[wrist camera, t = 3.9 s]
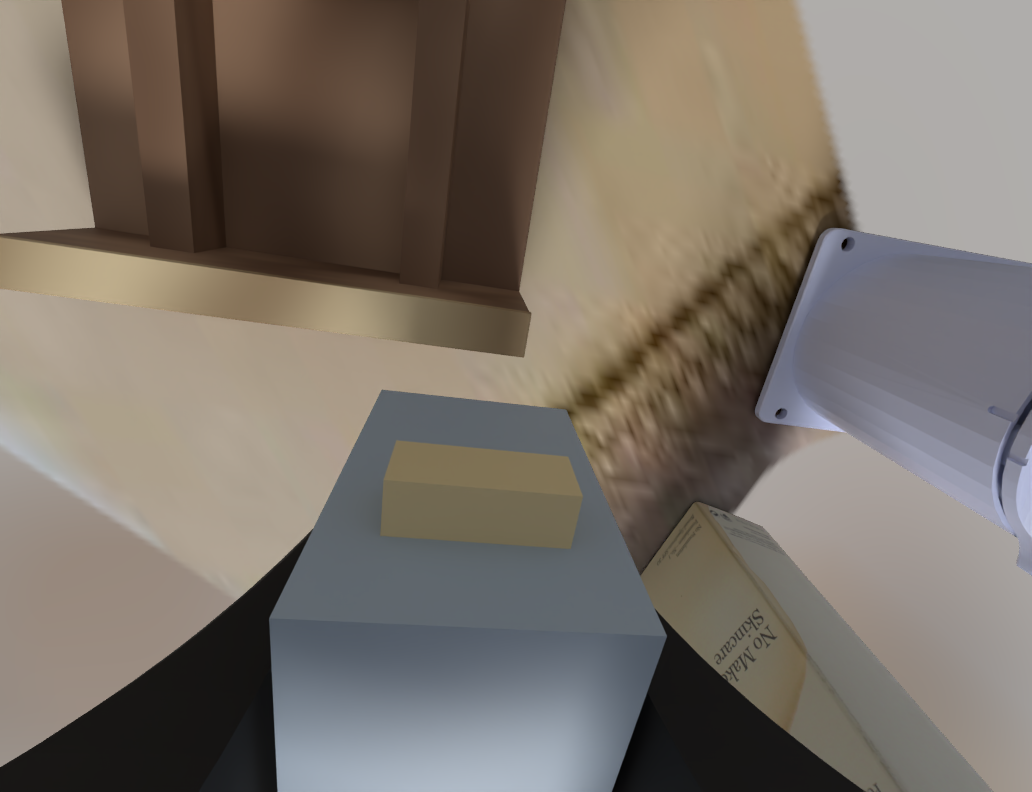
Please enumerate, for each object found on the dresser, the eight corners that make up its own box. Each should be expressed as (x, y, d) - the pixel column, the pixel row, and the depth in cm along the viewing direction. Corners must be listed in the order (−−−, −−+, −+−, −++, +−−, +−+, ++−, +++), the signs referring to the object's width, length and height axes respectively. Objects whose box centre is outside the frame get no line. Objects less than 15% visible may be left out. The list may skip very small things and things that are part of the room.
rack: (564, -10, 15) (604, -103, 10) (511, 319, 19) (523, 357, 14) (64, -128, 13) (-157, -307, 8) (117, 263, 17) (-16, 286, 12)
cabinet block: (572, 376, 10) (688, 577, 5) (523, 614, 13) (562, 930, 7) (383, 353, 10) (265, 550, 4) (370, 606, 12) (284, 941, 7)
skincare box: (692, 496, 22) (912, 791, 11) (766, 525, 23) (1035, 823, 12) (625, 593, 24) (755, 928, 13) (696, 616, 25) (873, 945, 14)
